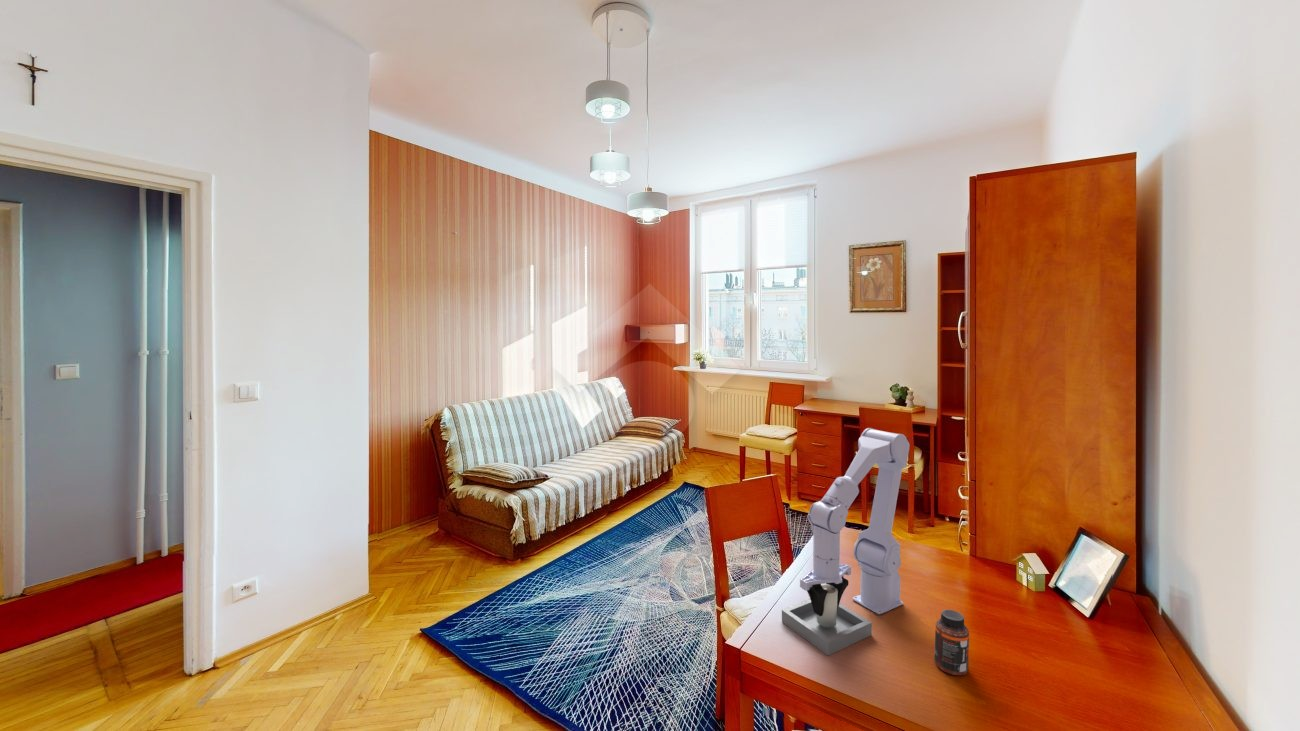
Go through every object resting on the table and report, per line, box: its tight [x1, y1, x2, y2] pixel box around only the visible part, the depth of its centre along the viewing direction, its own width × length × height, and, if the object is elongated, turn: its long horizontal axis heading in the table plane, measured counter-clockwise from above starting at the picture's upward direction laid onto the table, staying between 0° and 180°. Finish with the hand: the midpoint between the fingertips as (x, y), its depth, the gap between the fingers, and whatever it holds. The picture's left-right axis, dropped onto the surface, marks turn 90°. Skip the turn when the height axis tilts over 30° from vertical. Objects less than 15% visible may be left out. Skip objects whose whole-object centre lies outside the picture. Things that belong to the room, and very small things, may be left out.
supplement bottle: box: [934, 609, 970, 676], centre depth 101 cm, size 6×6×11 cm
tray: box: [781, 598, 873, 656], centre depth 115 cm, size 14×14×3 cm
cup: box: [816, 583, 838, 628], centre depth 115 cm, size 4×4×8 cm
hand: (825, 610), depth 115 cm, fingers closed on cup, 4 cm apart
